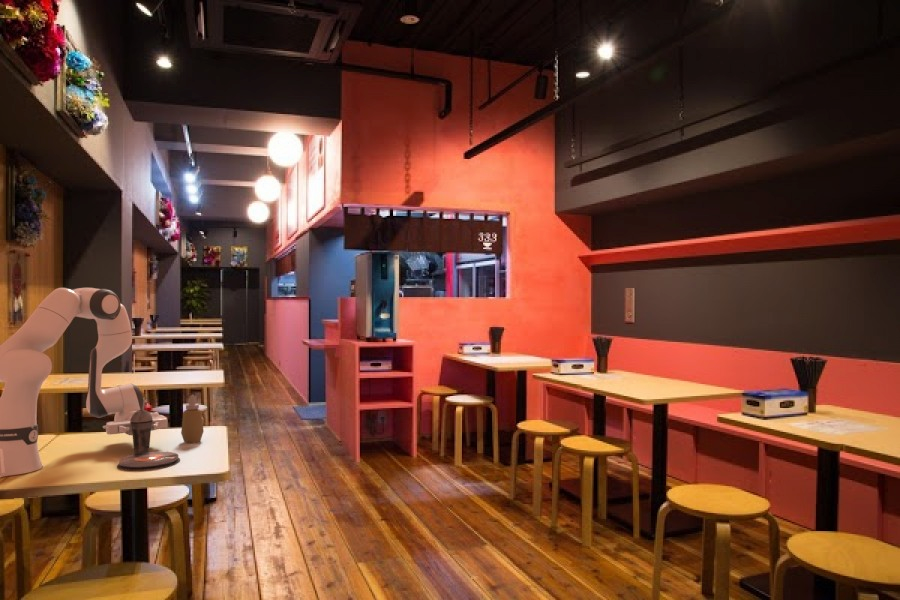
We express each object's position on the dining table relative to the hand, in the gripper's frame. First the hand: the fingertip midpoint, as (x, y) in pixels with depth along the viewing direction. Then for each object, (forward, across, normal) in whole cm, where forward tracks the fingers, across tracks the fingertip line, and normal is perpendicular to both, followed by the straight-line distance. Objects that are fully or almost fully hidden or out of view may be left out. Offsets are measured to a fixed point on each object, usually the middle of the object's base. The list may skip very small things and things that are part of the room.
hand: (141, 428), depth 224 cm
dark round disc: (+16, -1, +9) cm, 18 cm away
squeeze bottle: (-9, +20, +9) cm, 24 cm away
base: (+16, -1, +9) cm, 18 cm away
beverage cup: (0, 0, +9) cm, 9 cm away
